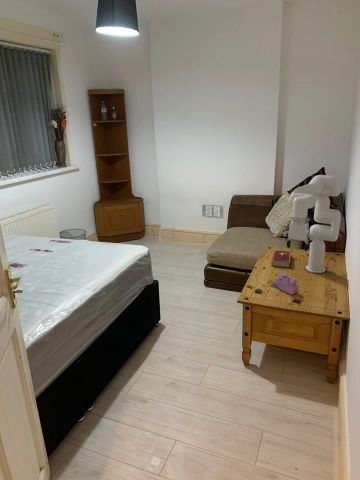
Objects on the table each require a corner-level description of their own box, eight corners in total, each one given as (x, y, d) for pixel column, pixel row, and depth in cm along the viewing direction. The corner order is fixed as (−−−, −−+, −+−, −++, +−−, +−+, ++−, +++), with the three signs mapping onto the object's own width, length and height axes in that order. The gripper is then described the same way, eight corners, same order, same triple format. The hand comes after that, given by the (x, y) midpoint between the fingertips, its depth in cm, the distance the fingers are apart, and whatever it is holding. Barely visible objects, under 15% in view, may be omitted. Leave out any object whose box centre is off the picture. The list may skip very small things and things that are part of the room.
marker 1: (257, 290, 218) (257, 288, 218) (261, 291, 217) (261, 289, 216) (255, 292, 216) (255, 290, 216) (259, 293, 214) (259, 291, 214)
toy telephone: (299, 292, 213) (300, 277, 209) (291, 296, 210) (292, 280, 206) (276, 282, 227) (277, 267, 224) (269, 285, 224) (270, 270, 220)
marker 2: (294, 299, 206) (294, 297, 205) (299, 300, 204) (299, 298, 204) (292, 301, 204) (292, 299, 203) (298, 303, 202) (298, 301, 202)
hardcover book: (271, 266, 250) (272, 260, 249) (274, 255, 269) (274, 249, 267) (289, 267, 246) (289, 262, 245) (290, 256, 265) (291, 251, 264)
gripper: (317, 219, 191) (315, 249, 197) (286, 216, 200) (284, 244, 206) (313, 223, 185) (311, 254, 191) (281, 219, 195) (279, 248, 200)
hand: (297, 249), depth 199 cm, fingers open, 9 cm apart
